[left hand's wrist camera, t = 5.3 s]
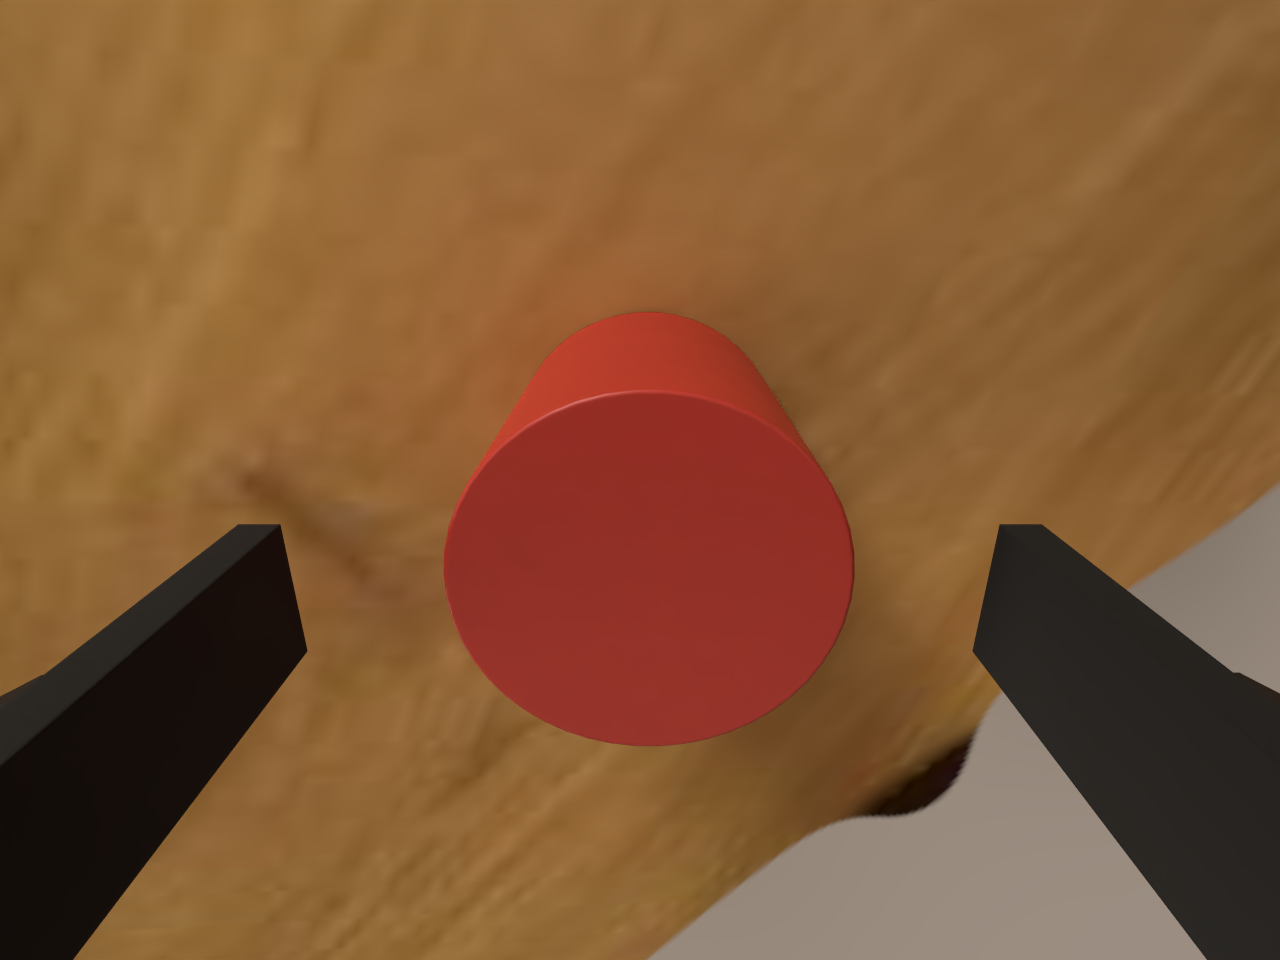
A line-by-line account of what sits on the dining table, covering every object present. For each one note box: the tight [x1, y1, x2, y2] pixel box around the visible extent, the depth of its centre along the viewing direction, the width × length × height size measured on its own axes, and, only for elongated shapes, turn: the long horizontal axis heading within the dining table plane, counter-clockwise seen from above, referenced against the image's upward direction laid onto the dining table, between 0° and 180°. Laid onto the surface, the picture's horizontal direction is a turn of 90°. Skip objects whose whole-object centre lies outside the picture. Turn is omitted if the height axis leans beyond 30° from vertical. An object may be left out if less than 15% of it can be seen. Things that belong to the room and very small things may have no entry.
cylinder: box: [444, 312, 854, 746], centre depth 15 cm, size 7×7×8 cm
